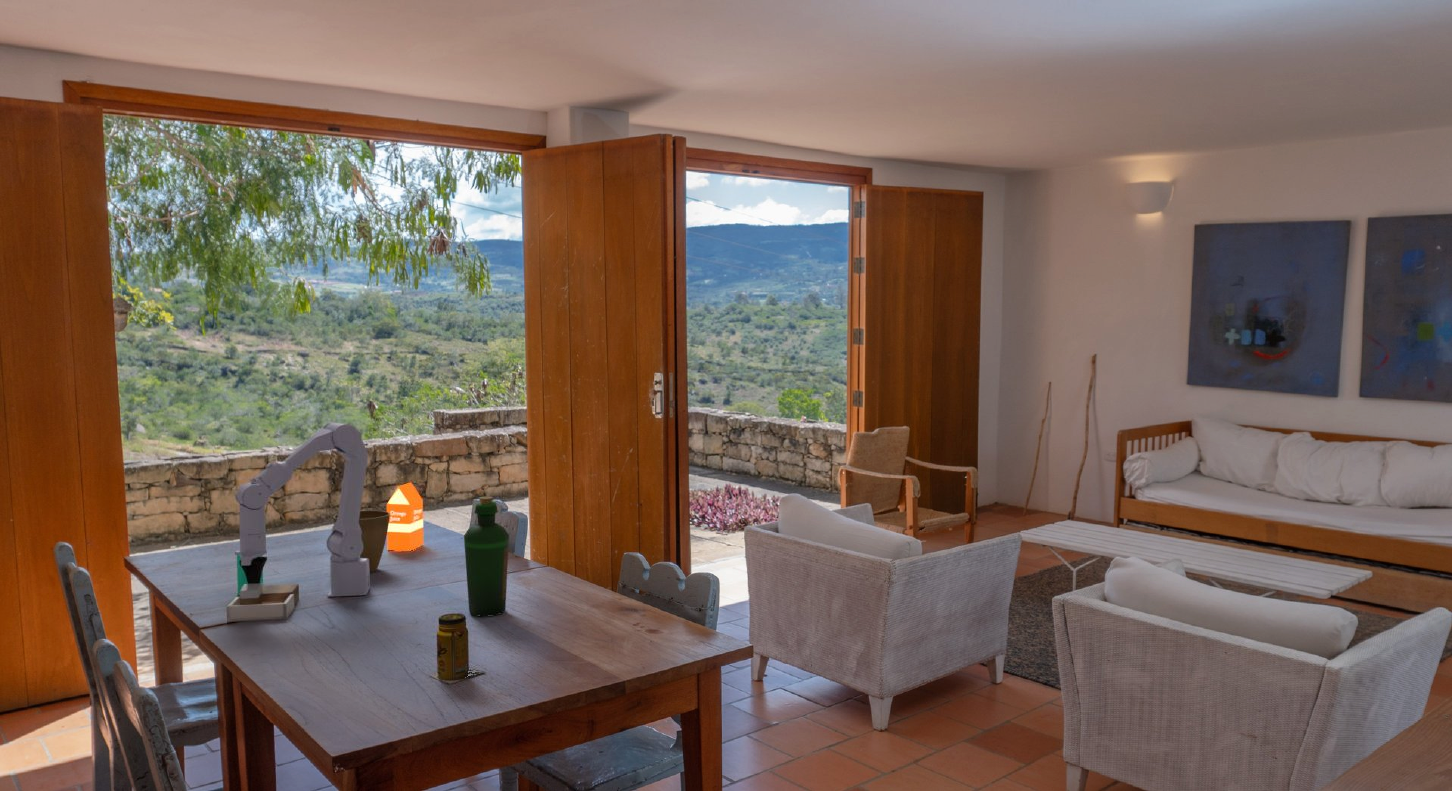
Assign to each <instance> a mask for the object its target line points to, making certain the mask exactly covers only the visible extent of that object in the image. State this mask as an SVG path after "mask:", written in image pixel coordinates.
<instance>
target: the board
mask: <svg viewBox="0 0 1452 791" xmlns="http://www.w3.org/2000/svg"><path fill="white" fill-rule="evenodd" d="M299 585H300V584H299V583H293V584H273V585H271V584H269V585H268V584H265V585H263V586H262V588H263V591H262V593H261V595H260V596H259V598H245V599H240V605H253V604H262V602H275V601H281V602H283V603H284V602H285V601H286V599H287V598H288V597H289V596H290V594H294V607H295V606H296V604H298V601H299V600H300V589H299V588H300V586H299ZM238 597H240V594H239V595H238Z"/></svg>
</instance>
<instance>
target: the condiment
mask: <svg viewBox="0 0 1452 791" xmlns="http://www.w3.org/2000/svg"><path fill="white" fill-rule="evenodd" d="M466 620H467V617H466V615H465V614H464V613H463V614H462V613H454V612H453V613H447V614H442V615H441V616H439V617H438V626H437V628H438V630H437V631H436V665H437V667H436V668H437V672H436V673H433V674H429V675H428V676H429V677H431V678H433V679H436V680H438V681H441V682H444V683H448V684H454V683H457V682H460V681H464V680H467V679H469V678H471V677H475V676H478V675H477V674H479V675H481V674H484V673H486V671H485V670H483V671H484V672H475V673H472V672H469V673H468V671H473V670H475V669H476V668H475V669H473V670H471V669H470V670H469V668H473V667H472V666H469V665H470V664H469V663H470V661H469V659H470V658H469V657H470V656H469V655H470V654H469V629H468V628H467V621H466ZM476 671H482V670H481V669H477V670H476ZM470 673H471V674H473V676H472V675H471V676H468V674H470ZM474 674H476V675H474ZM467 676H468V677H467ZM465 677H466V678H465Z"/></svg>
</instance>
